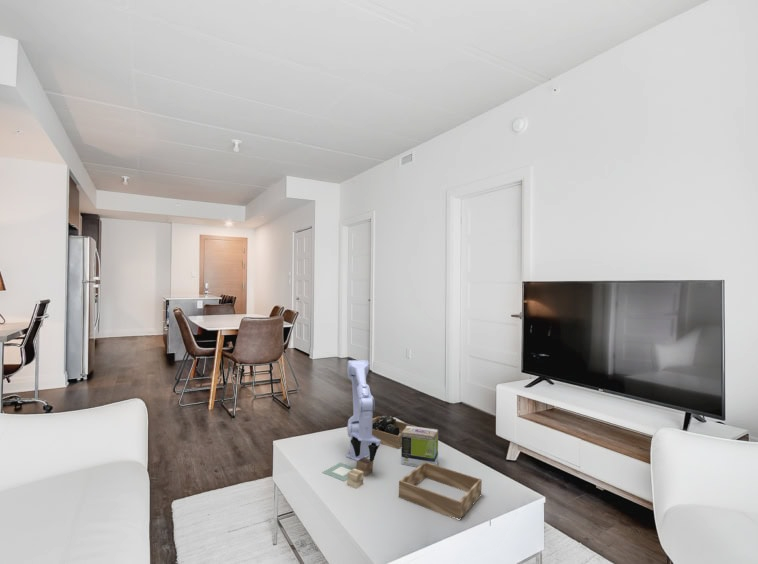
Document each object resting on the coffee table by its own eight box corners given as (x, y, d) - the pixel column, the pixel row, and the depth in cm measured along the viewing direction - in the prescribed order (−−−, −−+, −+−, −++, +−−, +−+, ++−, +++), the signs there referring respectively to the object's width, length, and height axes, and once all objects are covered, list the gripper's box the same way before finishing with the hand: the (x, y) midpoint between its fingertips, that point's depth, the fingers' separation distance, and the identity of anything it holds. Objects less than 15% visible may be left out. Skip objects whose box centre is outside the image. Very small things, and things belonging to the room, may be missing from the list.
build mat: (340, 462, 176) (340, 462, 176) (361, 470, 169) (361, 469, 169) (321, 472, 166) (321, 472, 166) (343, 481, 159) (343, 480, 159)
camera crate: (378, 426, 222) (378, 416, 222) (416, 437, 208) (416, 426, 208) (358, 436, 206) (358, 425, 206) (397, 449, 192) (398, 436, 192)
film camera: (391, 444, 196) (392, 424, 197) (369, 440, 202) (369, 420, 202) (404, 433, 212) (405, 414, 213) (383, 429, 218) (384, 411, 218)
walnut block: (363, 468, 170) (363, 457, 170) (372, 472, 168) (373, 460, 168) (355, 472, 166) (356, 461, 166) (365, 476, 164) (366, 465, 163)
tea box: (438, 461, 180) (438, 428, 180) (433, 470, 171) (434, 436, 171) (406, 455, 185) (407, 424, 185) (400, 464, 176) (401, 431, 176)
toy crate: (424, 476, 166) (424, 461, 166) (481, 495, 152) (481, 479, 152) (398, 497, 149) (399, 481, 149) (459, 520, 135) (460, 503, 135)
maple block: (354, 480, 160) (354, 468, 160) (363, 484, 158) (363, 471, 158) (347, 485, 157) (347, 472, 157) (356, 488, 154) (356, 476, 154)
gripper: (346, 424, 168) (345, 456, 168) (374, 432, 160) (373, 466, 160) (356, 420, 174) (355, 451, 174) (383, 427, 166) (382, 460, 165)
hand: (364, 458), depth 167 cm, fingers open, 7 cm apart
